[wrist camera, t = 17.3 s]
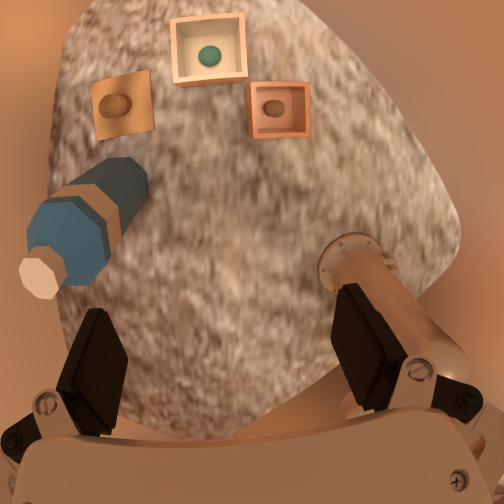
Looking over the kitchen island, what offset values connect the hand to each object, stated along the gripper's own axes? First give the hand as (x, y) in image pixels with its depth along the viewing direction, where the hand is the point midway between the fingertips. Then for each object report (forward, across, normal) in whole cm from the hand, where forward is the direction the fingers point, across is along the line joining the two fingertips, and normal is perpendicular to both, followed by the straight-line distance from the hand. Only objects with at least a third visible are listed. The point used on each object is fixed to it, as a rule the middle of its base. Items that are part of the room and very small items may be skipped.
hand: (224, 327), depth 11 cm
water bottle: (+34, +15, +2) cm, 37 cm away
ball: (+33, 0, -15) cm, 36 cm away
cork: (+33, -8, -7) cm, 34 cm away
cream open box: (+33, 0, -15) cm, 37 cm away
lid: (+34, +13, -10) cm, 38 cm away
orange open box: (+33, -8, -7) cm, 35 cm away
